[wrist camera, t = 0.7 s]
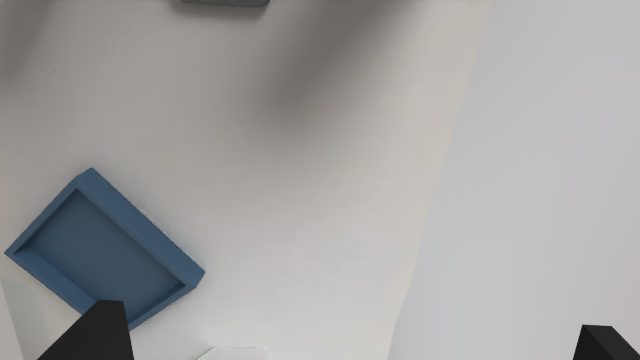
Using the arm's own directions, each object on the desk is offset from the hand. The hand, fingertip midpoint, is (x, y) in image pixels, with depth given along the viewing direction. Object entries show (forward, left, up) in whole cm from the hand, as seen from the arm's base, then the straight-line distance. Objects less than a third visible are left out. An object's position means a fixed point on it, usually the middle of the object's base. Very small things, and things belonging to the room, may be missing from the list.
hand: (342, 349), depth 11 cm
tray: (+35, -5, -24) cm, 42 cm away
